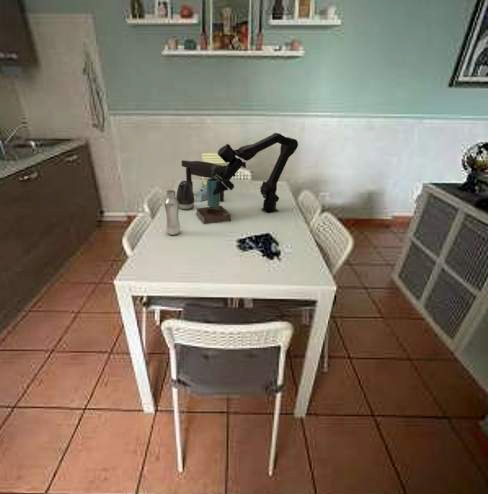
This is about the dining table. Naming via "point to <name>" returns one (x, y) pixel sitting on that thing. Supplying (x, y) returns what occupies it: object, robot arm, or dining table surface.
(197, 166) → the stool
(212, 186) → the tumbler
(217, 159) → the pale yellow striped pieces
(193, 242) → the dining table surface
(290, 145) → the robot arm
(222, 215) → the holder
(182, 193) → the black rounded dome
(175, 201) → the plastic bottle
